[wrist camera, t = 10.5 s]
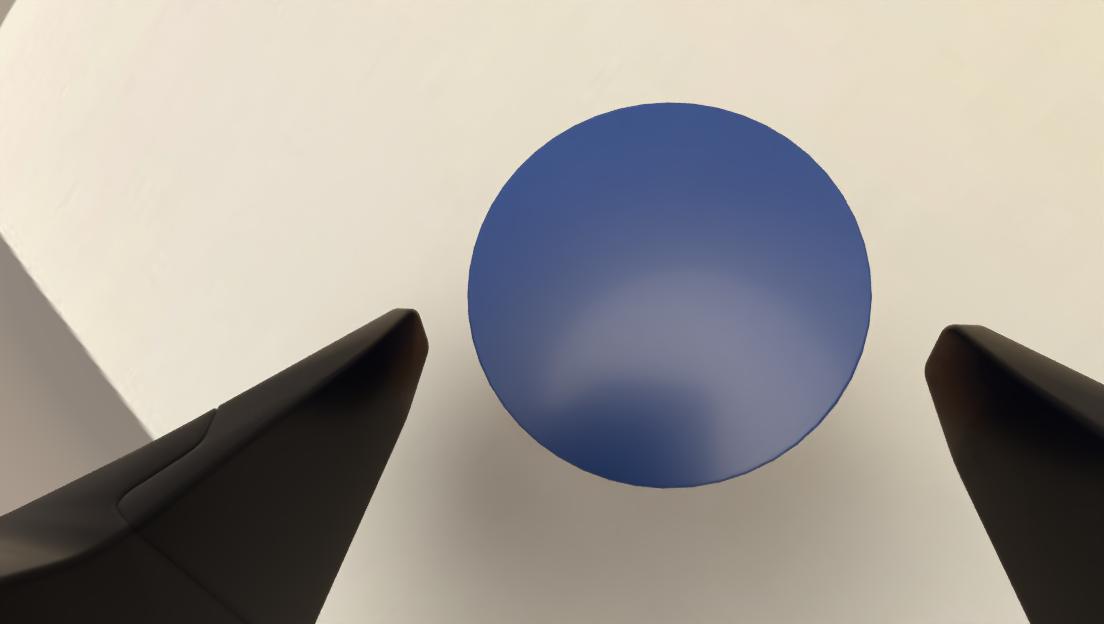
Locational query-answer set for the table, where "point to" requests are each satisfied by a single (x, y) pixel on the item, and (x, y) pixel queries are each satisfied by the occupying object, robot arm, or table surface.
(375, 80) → the table surface
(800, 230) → the lid
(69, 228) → the table surface
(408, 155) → the table surface
